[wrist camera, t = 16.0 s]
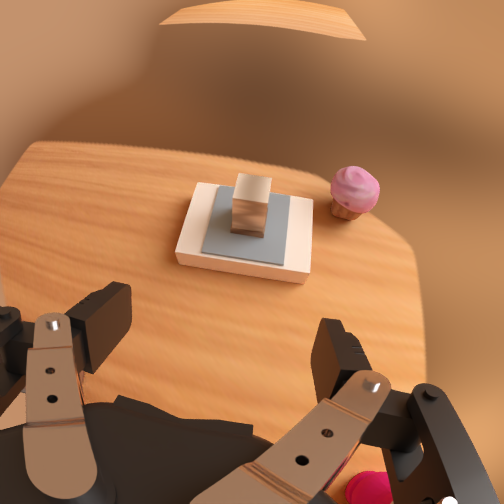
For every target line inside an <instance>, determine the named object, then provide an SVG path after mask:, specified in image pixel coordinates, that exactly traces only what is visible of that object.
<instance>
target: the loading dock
mask: <svg viewBox="0 0 504 504" xmlns="http://www.w3.org/2000/svg"><path fill="white" fill-rule="evenodd" d="M234 190H235V187H231V186H224V185H216V184H209V183H201V182H198V183H197V186H196V189H195V191H194V194H193V197H192V200H191V203H190V206H189V209H188V212H187V215H186V218H185V221H184V224H183V227H182V231H181V234H180V237H179V240H178V243H177V247H176V250H175V254H176V257H177V260H178V263H179V264H181V265H187V266H193V267H198V268H204V269H210V270H216V271H223V272H229V273H235V274H241V275H247V276H254V277H260V278H266V279H273V280H279V281H286V282H293V283H299V284H304V283H305V281H306V280H307V278H308V276H309V274H310V263H311V245H312V221H313V199H308V198H302V197H296V196H290V195H284V194H278V193H272V192H270V193H269V200H268V206H267V207H268V213H267V219H266V226H265V232H264V238H259V237H253V236H247V235H241V234H234V233H230V228H231V224H232V198H233V194H234Z"/></svg>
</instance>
